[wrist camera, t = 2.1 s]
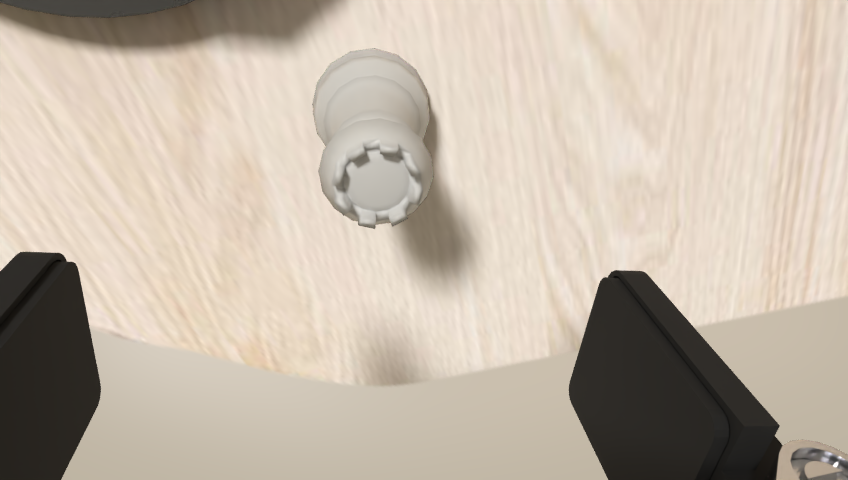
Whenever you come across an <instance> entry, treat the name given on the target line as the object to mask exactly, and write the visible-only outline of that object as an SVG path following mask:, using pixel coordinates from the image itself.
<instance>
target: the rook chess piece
mask: <svg viewBox="0 0 848 480" xmlns="http://www.w3.org/2000/svg"><path fill="white" fill-rule="evenodd" d="M312 105H313V115H314V120H315V125H316V130H317V134H318V135H319V137H320V138H321V140H322V141H323V143H324V144H325V146H326V147H325V149H324V150H323V154H322V158H321V162H320V167H319V176H320V181H321V186H322V191H323V193H324V194H325V196H326V197H327V199H328V200H329V201H330V203H331V204H332V206H333V207H334V208H335V209H336V210H337V211H339V212H340V213H342V214H343V216H344V215H345V216H347V217H348V218H350V219H351V220H353V221H358V225H359V226H364V227H369V228H373V229H375V225H377V224H384V223H391V224H392V226H394V225H396V224H398V223H400V222H402V221H404V220H406V219H408V217H407V215H409V214H411V213H413V212H414V211H415V210H416V209H417V208H418V206H419V205H420V204H421V203H422V202H423V201H424V199H425V198H426V197H427V195H428V192H429V189H430V186H431V183H432V180H433V168H432V158H431V155H430V153H429V151H428V149H427V148H426V146H425V144H424V142H423V139H424V136H425V133H426V129H427V126H428V123H429V120H430V116H429V106H428V96H427V89H426V87H425V85H424V84H423V82H422V80H421V78H420V76H419V74H418V72H417V71H416V69H414V68H413V67H412V66H411V65H410V64H408V63H407V62H406V61H405V60H403V59H402V58H401V57H400V56H398V55H396V54H393V53H389V52H386V51H382V50H379V49H375V48H374V49H366V50H358V51H351V52H349V53H347V54H346V55H344V56H342V57H341V58H339V59H337V60H335V61H334V62H332V63H331V64H330V65H329V66H328V68H327V69H326V71H325V72H324V73H323V75H322V76H321V78H320V79H319V80H318V82H317V85H316V90H315V95H314V100H313V104H312Z"/></svg>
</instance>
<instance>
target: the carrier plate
mask: <svg viewBox="0 0 848 480" xmlns="http://www.w3.org/2000/svg"><path fill="white" fill-rule="evenodd" d="M192 1H194V0H0V2H1V3H4V4H8V5H11V6H15V7H18V8H22V9H26V10H32V11H38V12H44V13H50V14H57V15H63V16H72V17H102V18H111V17H121V16H131V15H140V14H148V13H153V12H157V11H161V10H165V9H169V8H173V7H177V6H181V5H184V4H187V3H189V2H192Z"/></svg>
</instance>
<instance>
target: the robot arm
mask: <svg viewBox="0 0 848 480" xmlns="http://www.w3.org/2000/svg"><path fill="white" fill-rule="evenodd" d="M100 392H101V386H100V379H99V374H98V369H97V364H96V359H95V354H94V349H93V344H92V338H91V333H90V328H89V323H88V318H87V313H86V307H85V302H84V297H83V292H82V287H81V282H80V276H79V271H78V268H77V266H76V264H75V263H74V262H67V261H66V259H65V257H64V256H63V255H62V254H61V253H43V252H20V253H19V254H17V255H16V256H15V257H14V258H13V259H12V260H11V261H10V262H9V263H8V264H7V265H6V266H5V267H4V268H3V269H2V270H1V271H0V480H61V479H62V477H63V474H64V472H65V470H66V468H67V466H68V464H69V462H70V460H71V458H72V456H73V454H74V452H75V450H76V448H77V446H78V444H79V442H80V440H81V438H82V436H83V434H84V432H85V430H86V428H87V426H88V424H89V422H90V420H91V418H92V416H93V414H94V412H95V410H96V408H97V406H98V403H99V400H100ZM569 396H570V400H571V403H572V405H573V407H574V409H575V411H576V413H577V416H578V418H579V420H580V422H581V424H582V426H583V428H584V430H585V432H586V434H587V436H588V438H589V441H590V443H591V445H592V447H593V449H594V451H595V453H596V455H597V457H598V459H599V461H600V463H601V465H602V467H603V469H604V471H605V474H606V476H607V478H608V480H848V455H847V454H845V453H843V452H842V451H840V450H838V449H836V448H834V447H831V446H828V445H825V444H822V443H819V442H814V441H809V440H794V441H790V442H788V443H786V444H784V445H782V444H781V443H780V442H779V441H778V439H777V438H776V437H775V434H776V432H777V430H778V428H779V424H778V423H777V422H776V421H775V420H774V419H773V418H772V416H771V415H770V414H769V413H768V412H767V411H766V410H765V408H764V407H763V406H762V405H761V404H760V403H759V401H758V400H757V399H756V398H755V397H754V396H753V395H752V393H751V392H750V391H749V390H748V389H747V388H746V387H745V385H744V384H743V383H742V382H741V381H740V380H739V379H738V378H737V376H736V375H735V374H734V373H733V372H732V371H731V369H729V367H728V366H727V365H726V364H725V363H724V362H723V360H722V359H721V358H720V357H719V356H718V355H717V354H716V352H715V351H714V350H713V349H712V348H711V347H710V346H709V344H708V343H707V342H706V341H705V340H704V339H703V337H702V336H701V335H700V334H699V333H698V332H697V331H696V329H695V328H694V327H693V326H692V325H691V324H690V323H689V321H688V320H687V319H686V318H685V317H684V316H683V315H682V313H681V312H680V311H679V310H678V309H677V308H676V307H675V305H674V304H673V303H672V302H671V301H670V300H669V299H668V297H667V296H666V295H665V294H664V293H663V292H662V291H661V289H660V288H659V287H658V286H657V285H656V284H655V283H654V281H653V280H652V279H651V278H650V277H649V276H648V275H647V274H646V273H645V272H642V271H618V270H615V271H613V272H611V273H610V275H609V276H608V278H606V277H605V278H603V279H602V280H601V281H600V284H599V287H598V290H597V293H596V297H595V300H594V303H593V307H592V310H591V313H590V317H589V320H588V323H587V327H586V330H585V333H584V337H583V340H582V343H581V347H580V350H579V353H578V357H577V360H576V364H575V367H574V370H573V374H572V377H571V380H570V384H569Z"/></svg>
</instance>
